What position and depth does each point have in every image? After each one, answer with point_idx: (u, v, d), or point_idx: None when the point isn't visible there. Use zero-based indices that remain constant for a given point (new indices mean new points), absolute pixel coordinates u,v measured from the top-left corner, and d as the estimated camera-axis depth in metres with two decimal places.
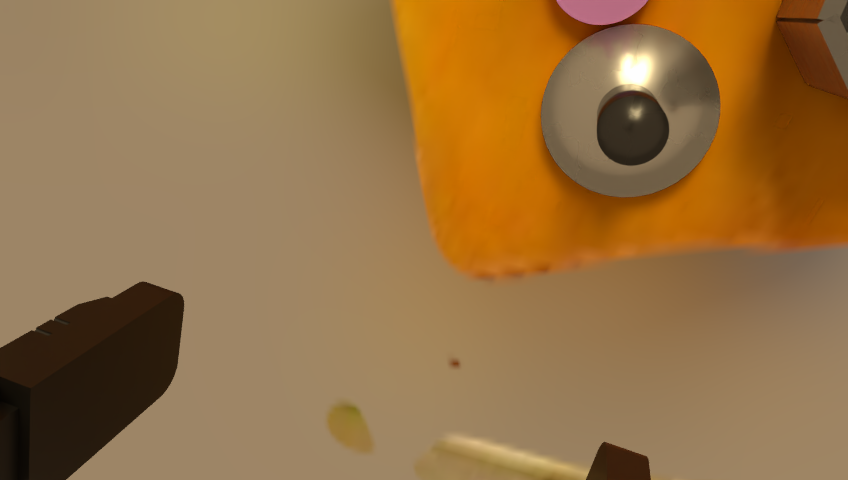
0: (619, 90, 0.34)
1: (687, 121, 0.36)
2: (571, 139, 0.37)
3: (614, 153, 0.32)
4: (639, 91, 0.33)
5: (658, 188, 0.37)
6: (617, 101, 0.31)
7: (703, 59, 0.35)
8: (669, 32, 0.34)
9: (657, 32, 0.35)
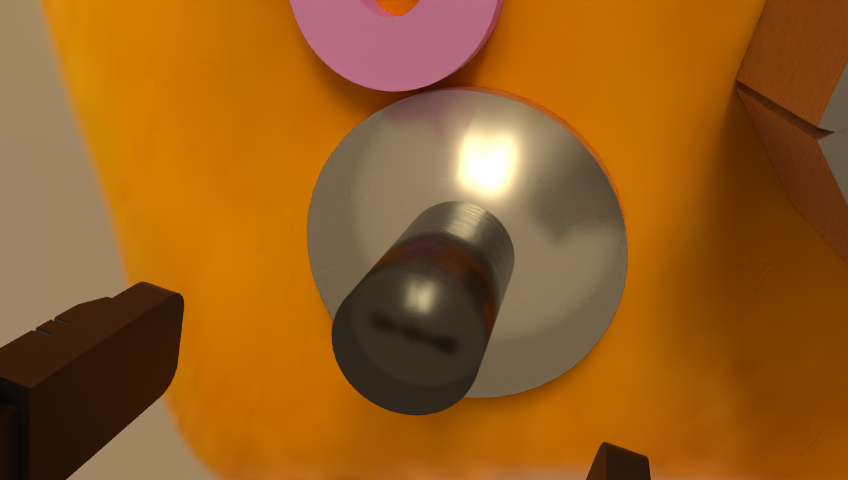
0: (416, 228, 0.17)
1: (566, 272, 0.18)
2: None
3: (374, 387, 0.15)
4: (441, 242, 0.15)
5: (523, 387, 0.20)
6: (365, 284, 0.14)
7: (590, 160, 0.17)
8: (522, 107, 0.17)
9: (500, 107, 0.17)
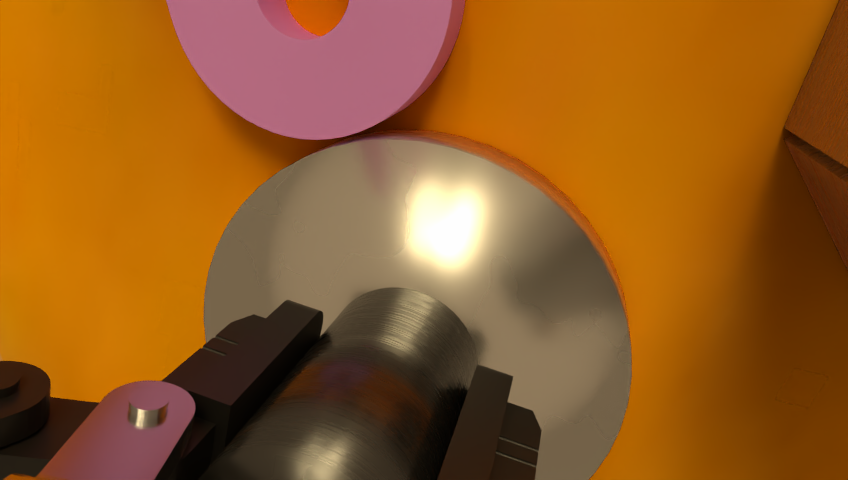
0: (332, 338, 0.12)
1: (548, 384, 0.14)
2: None
3: None
4: (358, 371, 0.10)
5: None
6: (225, 463, 0.09)
7: (578, 236, 0.12)
8: (482, 163, 0.12)
9: (451, 162, 0.13)
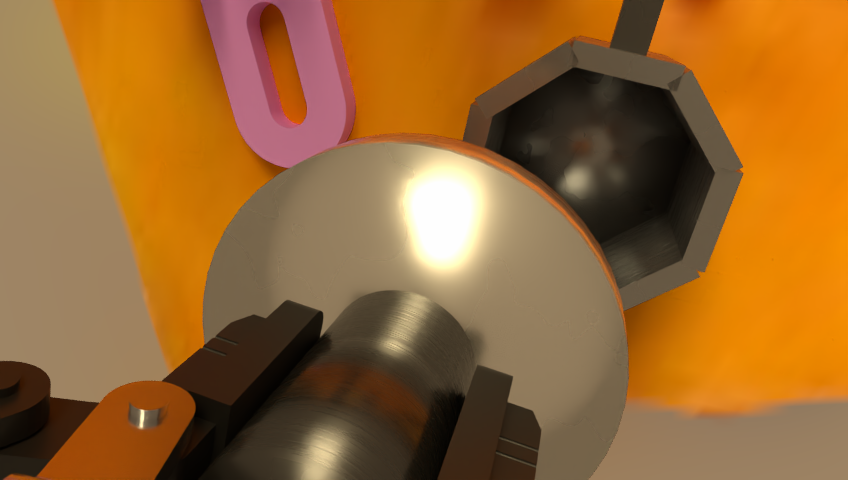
0: (330, 341, 0.12)
1: (546, 386, 0.14)
2: None
3: None
4: (356, 373, 0.11)
5: None
6: (223, 465, 0.09)
7: (575, 239, 0.12)
8: (479, 166, 0.12)
9: (449, 165, 0.13)
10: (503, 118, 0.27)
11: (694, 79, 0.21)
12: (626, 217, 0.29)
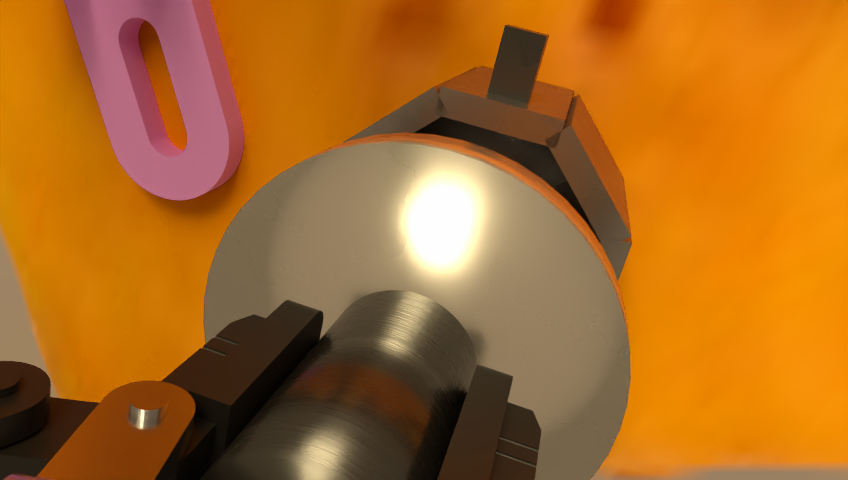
0: (331, 341, 0.12)
1: (548, 387, 0.14)
2: None
3: None
4: (357, 374, 0.11)
5: None
6: (224, 465, 0.09)
7: (577, 239, 0.12)
8: (481, 166, 0.12)
9: (450, 165, 0.13)
10: None
11: (575, 136, 0.18)
12: None
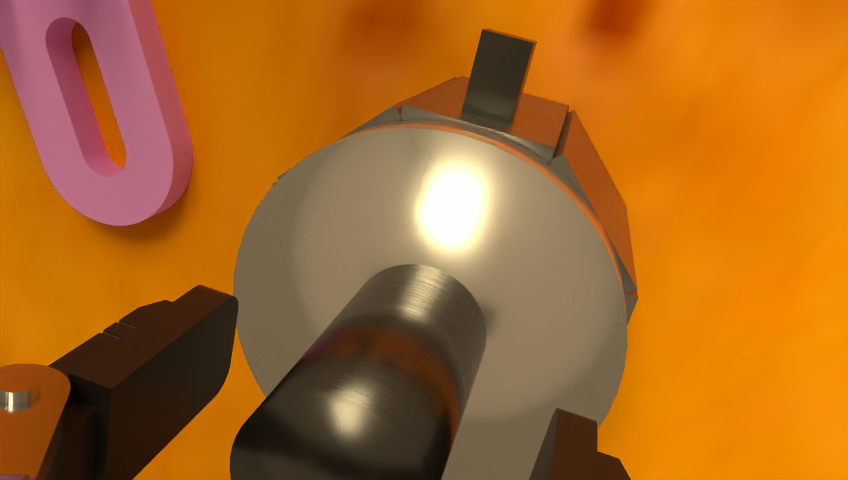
0: (356, 307, 0.13)
1: (551, 352, 0.15)
2: None
3: None
4: (382, 332, 0.12)
5: None
6: (270, 406, 0.10)
7: (578, 215, 0.14)
8: (491, 149, 0.14)
9: (463, 148, 0.14)
10: None
11: (567, 166, 0.15)
12: None
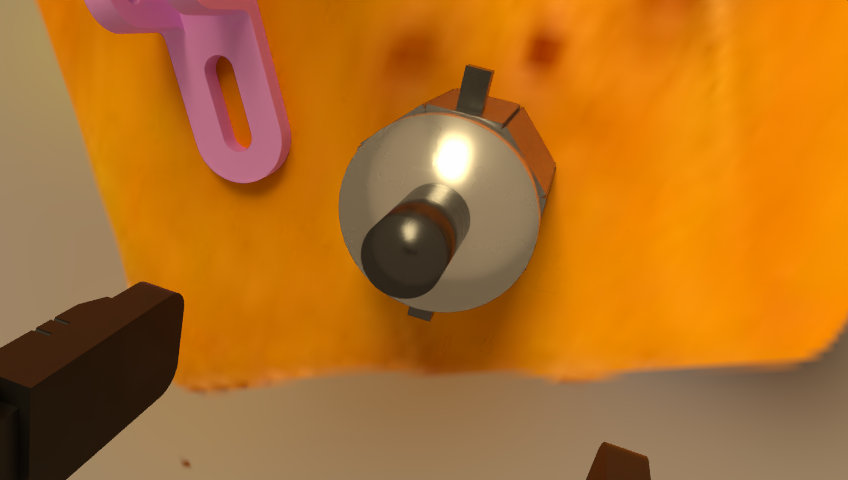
0: (407, 197, 0.28)
1: (502, 225, 0.30)
2: None
3: (385, 284, 0.26)
4: (421, 202, 0.27)
5: (480, 302, 0.31)
6: (379, 223, 0.25)
7: (512, 155, 0.29)
8: (470, 123, 0.29)
9: (456, 124, 0.29)
10: None
11: (508, 133, 0.30)
12: None
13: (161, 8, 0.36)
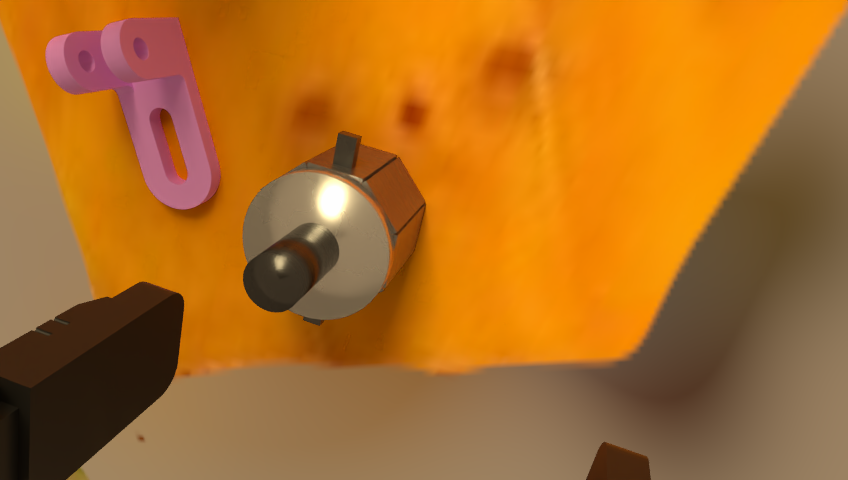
0: (286, 235, 0.38)
1: (362, 255, 0.39)
2: None
3: (261, 301, 0.35)
4: (292, 241, 0.36)
5: (349, 312, 0.41)
6: (255, 258, 0.35)
7: (367, 204, 0.38)
8: (335, 180, 0.38)
9: (326, 179, 0.38)
10: None
11: (368, 186, 0.39)
12: None
13: (112, 72, 0.46)
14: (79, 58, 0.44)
